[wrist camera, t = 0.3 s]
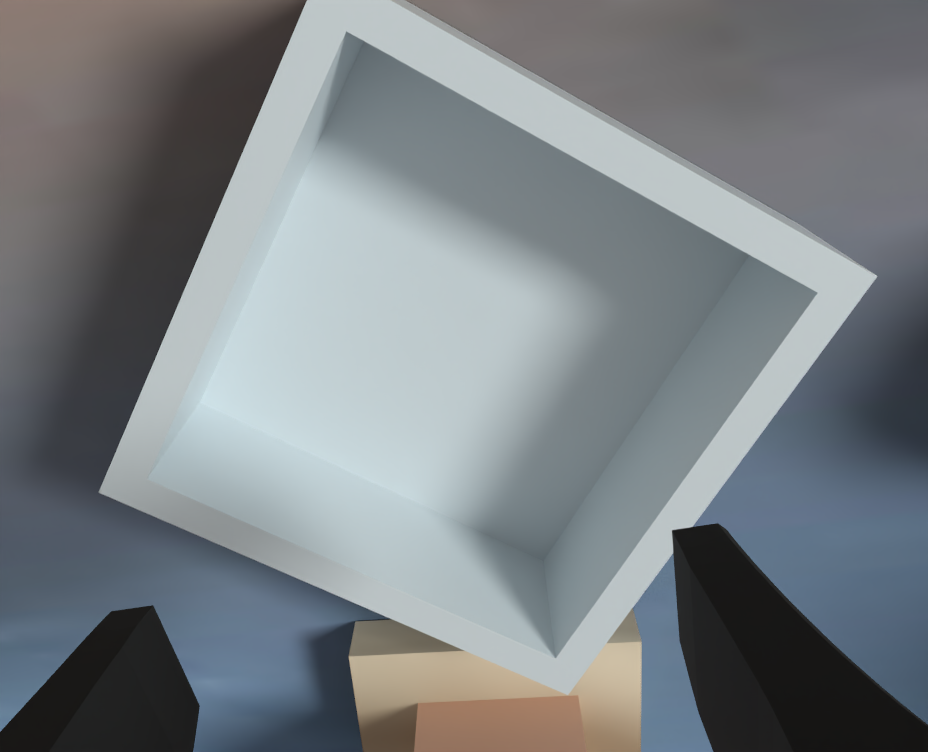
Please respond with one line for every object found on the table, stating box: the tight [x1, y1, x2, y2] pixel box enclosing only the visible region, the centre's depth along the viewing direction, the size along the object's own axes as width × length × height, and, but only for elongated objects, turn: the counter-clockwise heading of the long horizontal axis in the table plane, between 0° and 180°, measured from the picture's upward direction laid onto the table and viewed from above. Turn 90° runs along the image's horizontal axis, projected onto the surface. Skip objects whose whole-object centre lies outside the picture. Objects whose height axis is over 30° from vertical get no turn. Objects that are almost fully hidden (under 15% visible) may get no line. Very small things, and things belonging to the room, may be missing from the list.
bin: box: [99, 0, 877, 695], centre depth 20 cm, size 12×12×4 cm
